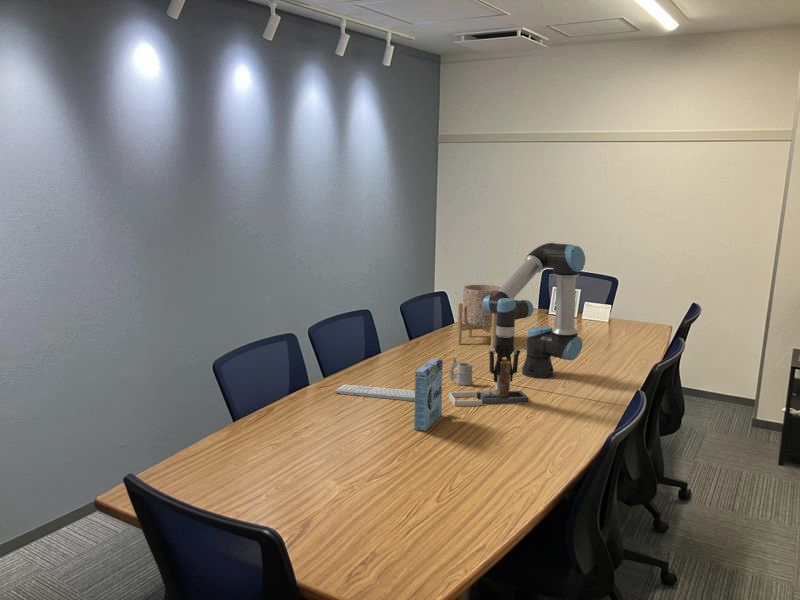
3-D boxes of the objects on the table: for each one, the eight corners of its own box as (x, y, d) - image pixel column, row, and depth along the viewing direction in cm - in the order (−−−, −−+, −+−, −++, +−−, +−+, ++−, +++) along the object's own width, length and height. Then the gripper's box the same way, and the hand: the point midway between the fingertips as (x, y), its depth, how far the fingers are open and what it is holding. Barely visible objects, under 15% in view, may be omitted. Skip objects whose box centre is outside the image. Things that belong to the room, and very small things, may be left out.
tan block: (504, 396, 287) (506, 358, 284) (508, 400, 282) (510, 361, 279) (495, 396, 286) (497, 358, 283) (499, 400, 281) (501, 361, 278)
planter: (495, 349, 371) (496, 292, 365) (456, 344, 380) (457, 289, 374) (505, 340, 391) (507, 286, 385) (468, 336, 400) (469, 283, 394)
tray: (474, 397, 289) (474, 391, 288) (481, 407, 277) (482, 400, 276) (448, 398, 287) (448, 392, 286) (454, 408, 275) (455, 401, 275)
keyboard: (439, 395, 293) (439, 390, 292) (433, 404, 281) (433, 399, 281) (343, 386, 303) (343, 381, 303) (334, 394, 291) (334, 389, 291)
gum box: (425, 431, 250) (427, 372, 246) (413, 429, 252) (414, 371, 247) (442, 415, 268) (443, 359, 263) (430, 413, 269) (431, 358, 265)
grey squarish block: (487, 398, 285) (487, 390, 285) (489, 401, 281) (490, 393, 281) (480, 398, 285) (480, 390, 284) (482, 401, 281) (483, 393, 280)
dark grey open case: (520, 397, 291) (521, 390, 290) (528, 404, 281) (528, 397, 281) (476, 398, 288) (476, 392, 287) (482, 406, 278) (482, 399, 278)
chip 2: (496, 398, 286) (496, 390, 285) (498, 401, 282) (499, 393, 281) (489, 398, 285) (489, 390, 285) (491, 401, 282) (492, 393, 281)
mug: (467, 389, 301) (468, 363, 298) (445, 384, 307) (445, 358, 305) (475, 384, 307) (476, 359, 304) (453, 380, 313) (454, 355, 311)
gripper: (521, 333, 284) (518, 385, 288) (482, 333, 281) (480, 386, 286) (527, 337, 277) (524, 391, 281) (487, 338, 274) (485, 392, 278)
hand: (502, 388), depth 283 cm, fingers closed on tan block, 4 cm apart
